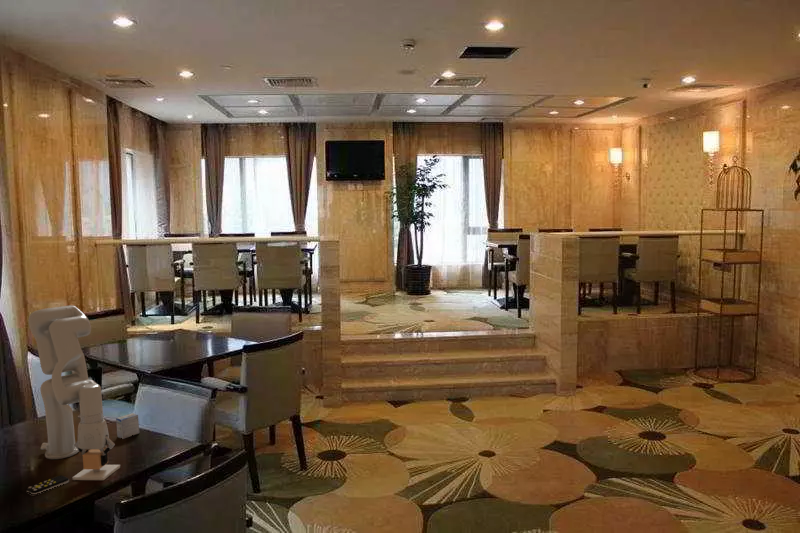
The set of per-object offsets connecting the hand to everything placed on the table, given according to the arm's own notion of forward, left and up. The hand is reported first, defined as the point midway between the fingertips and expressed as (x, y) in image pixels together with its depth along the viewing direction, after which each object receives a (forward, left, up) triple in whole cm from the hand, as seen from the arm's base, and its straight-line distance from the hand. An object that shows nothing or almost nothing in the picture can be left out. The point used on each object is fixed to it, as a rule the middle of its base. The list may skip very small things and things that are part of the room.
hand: (96, 463), depth 230 cm
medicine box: (-9, +38, -4) cm, 39 cm away
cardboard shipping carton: (0, 0, -1) cm, 1 cm away
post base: (0, 0, -4) cm, 4 cm away
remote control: (-12, -11, -4) cm, 17 cm away
